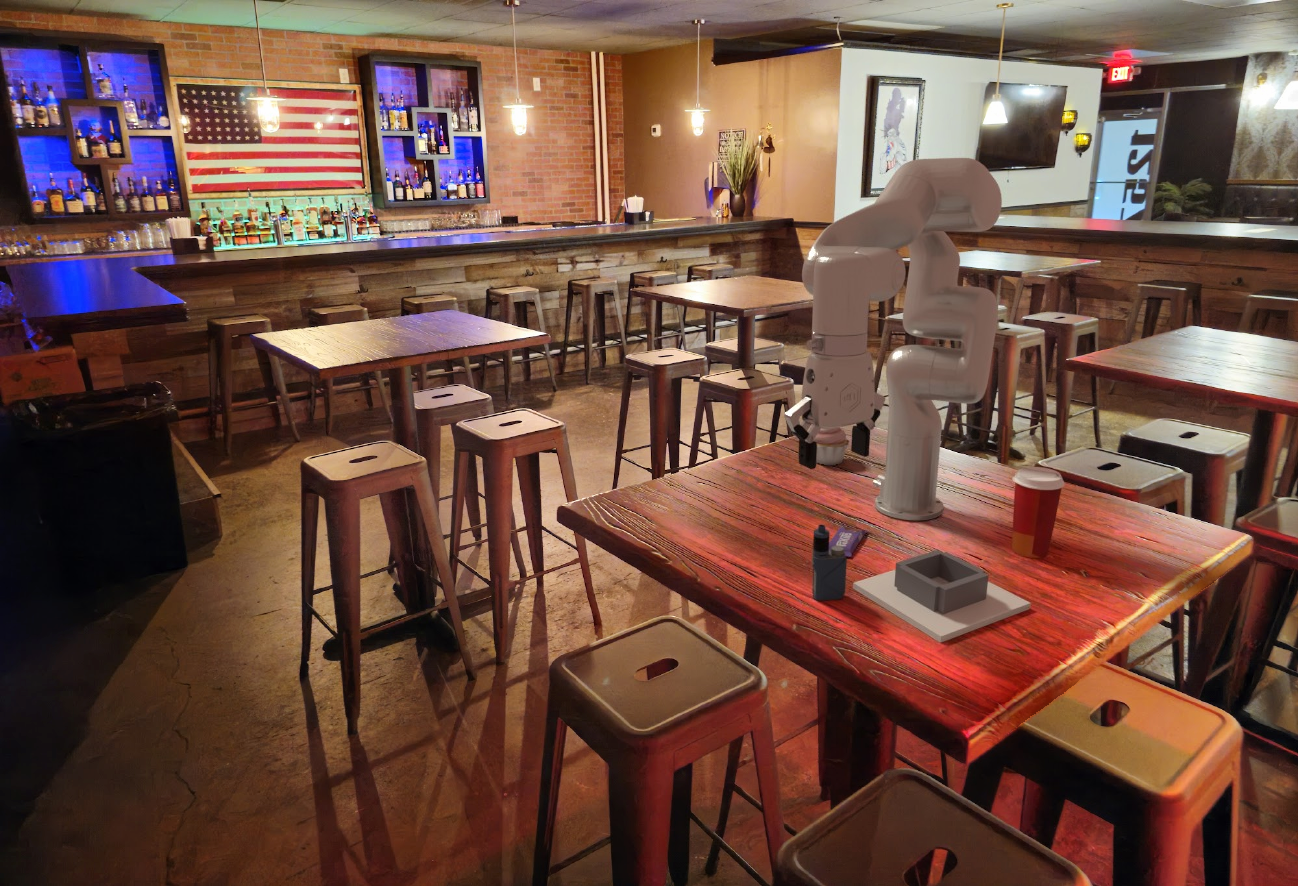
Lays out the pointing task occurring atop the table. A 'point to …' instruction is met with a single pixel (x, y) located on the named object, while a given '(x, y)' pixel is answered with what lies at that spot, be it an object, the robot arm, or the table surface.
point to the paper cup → (1035, 510)
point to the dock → (941, 595)
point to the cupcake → (831, 446)
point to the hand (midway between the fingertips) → (834, 460)
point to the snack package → (847, 539)
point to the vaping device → (827, 567)
